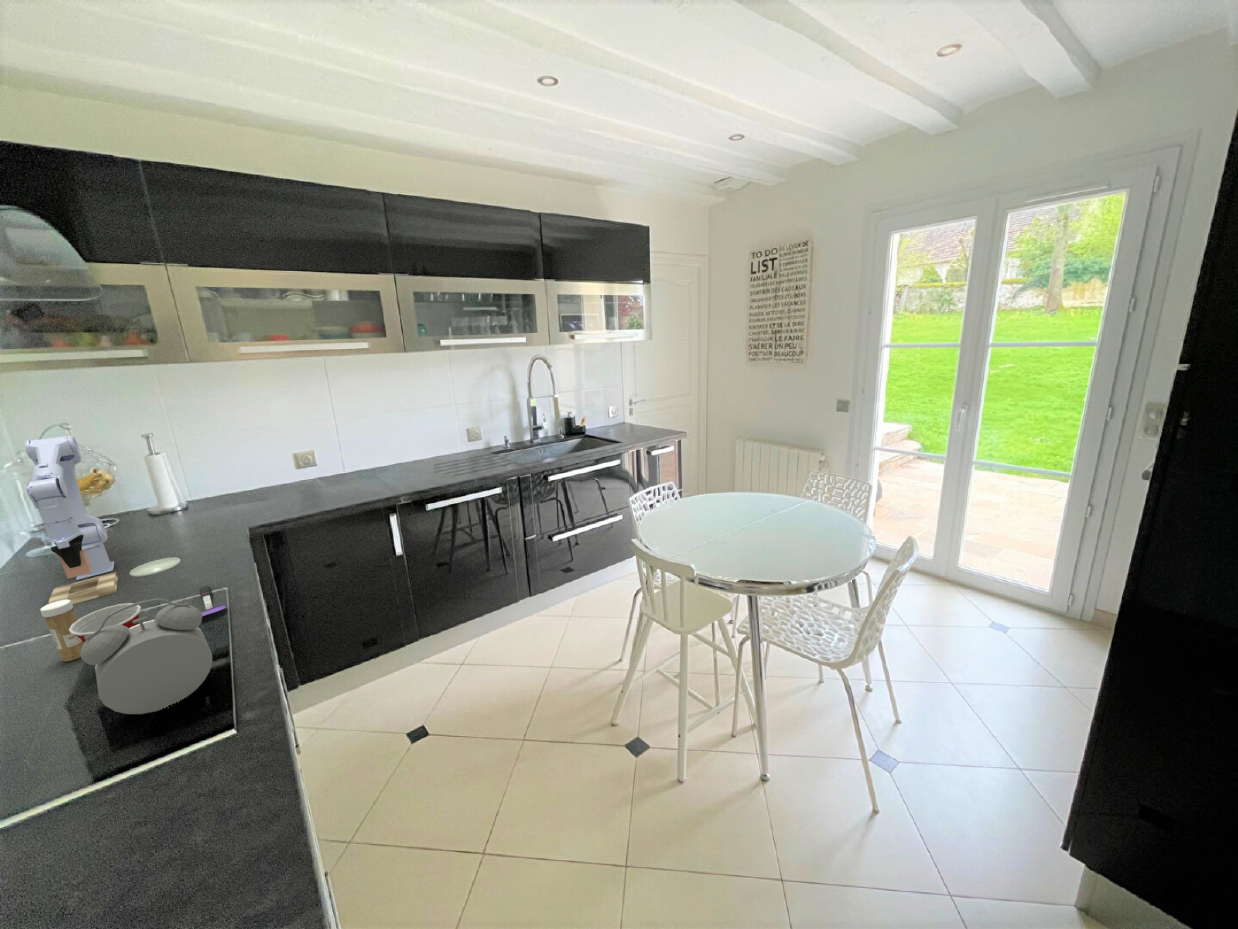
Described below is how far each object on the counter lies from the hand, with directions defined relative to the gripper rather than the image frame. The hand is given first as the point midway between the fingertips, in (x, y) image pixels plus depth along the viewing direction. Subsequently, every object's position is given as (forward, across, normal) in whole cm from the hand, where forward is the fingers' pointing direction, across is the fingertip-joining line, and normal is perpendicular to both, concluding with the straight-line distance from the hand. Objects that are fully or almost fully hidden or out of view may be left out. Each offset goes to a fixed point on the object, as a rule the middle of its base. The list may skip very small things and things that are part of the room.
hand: (76, 564), depth 136 cm
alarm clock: (+10, +81, +16) cm, 83 cm away
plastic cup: (+10, +56, +9) cm, 58 cm away
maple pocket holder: (+9, 0, 0) cm, 9 cm away
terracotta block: (+3, 0, 0) cm, 3 cm away
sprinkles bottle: (+10, +43, +1) cm, 44 cm away
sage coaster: (+9, -7, +15) cm, 19 cm away
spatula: (+10, +37, +25) cm, 46 cm away
